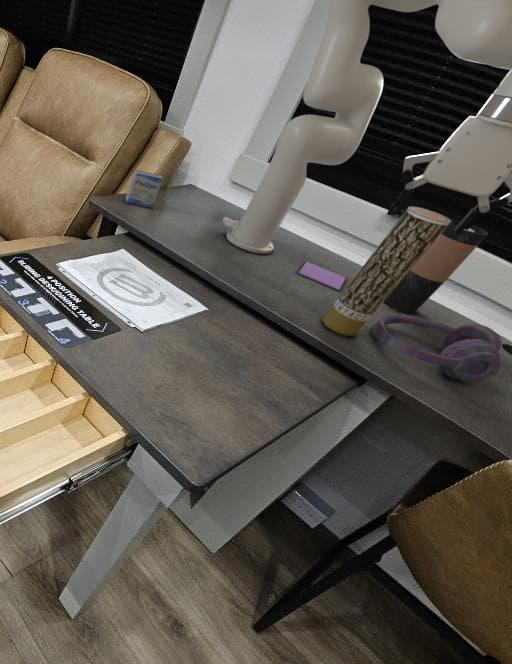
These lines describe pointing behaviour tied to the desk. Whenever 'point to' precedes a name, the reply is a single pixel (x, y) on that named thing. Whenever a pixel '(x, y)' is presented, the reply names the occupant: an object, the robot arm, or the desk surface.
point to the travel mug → (435, 267)
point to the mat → (322, 276)
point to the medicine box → (143, 188)
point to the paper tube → (385, 269)
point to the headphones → (450, 347)
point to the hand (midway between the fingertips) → (425, 221)
